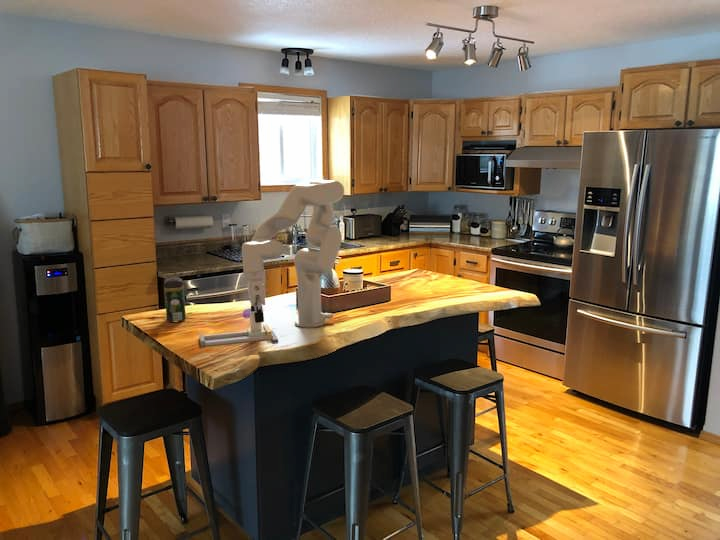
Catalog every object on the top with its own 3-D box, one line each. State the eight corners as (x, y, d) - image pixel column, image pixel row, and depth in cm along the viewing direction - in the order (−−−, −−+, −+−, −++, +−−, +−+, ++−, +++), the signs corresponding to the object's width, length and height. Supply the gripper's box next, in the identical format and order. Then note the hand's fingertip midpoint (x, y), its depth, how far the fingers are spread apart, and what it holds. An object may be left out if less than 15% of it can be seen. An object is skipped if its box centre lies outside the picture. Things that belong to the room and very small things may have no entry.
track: (272, 333, 233) (272, 323, 232) (278, 342, 221) (277, 331, 221) (199, 340, 224) (198, 330, 224) (201, 350, 213) (200, 339, 212)
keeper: (263, 333, 229) (262, 309, 227) (265, 337, 223) (264, 313, 221) (247, 334, 227) (246, 310, 225) (249, 339, 221) (248, 315, 219)
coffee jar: (167, 317, 257) (164, 276, 254) (186, 316, 259) (183, 274, 256) (165, 323, 248) (162, 280, 245) (185, 322, 250) (182, 279, 247)
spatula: (262, 328, 241) (262, 322, 241) (245, 329, 240) (245, 323, 239) (258, 313, 264) (258, 308, 264) (243, 314, 262) (242, 309, 262)
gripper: (267, 278, 213) (271, 323, 217) (260, 269, 229) (263, 311, 233) (247, 280, 211) (250, 326, 215) (241, 271, 227) (244, 313, 231)
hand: (257, 318), depth 224 cm, fingers open, 9 cm apart
